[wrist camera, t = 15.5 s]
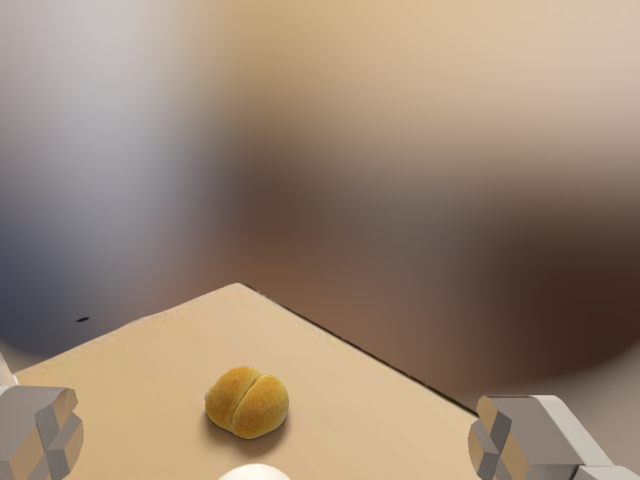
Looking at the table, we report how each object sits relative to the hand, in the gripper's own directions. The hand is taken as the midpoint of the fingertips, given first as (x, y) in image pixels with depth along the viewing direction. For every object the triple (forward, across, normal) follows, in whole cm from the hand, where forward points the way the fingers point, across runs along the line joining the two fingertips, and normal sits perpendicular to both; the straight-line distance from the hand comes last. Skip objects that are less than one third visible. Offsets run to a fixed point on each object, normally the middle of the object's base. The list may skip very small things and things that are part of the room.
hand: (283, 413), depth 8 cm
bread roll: (+28, -4, -29) cm, 40 cm away
